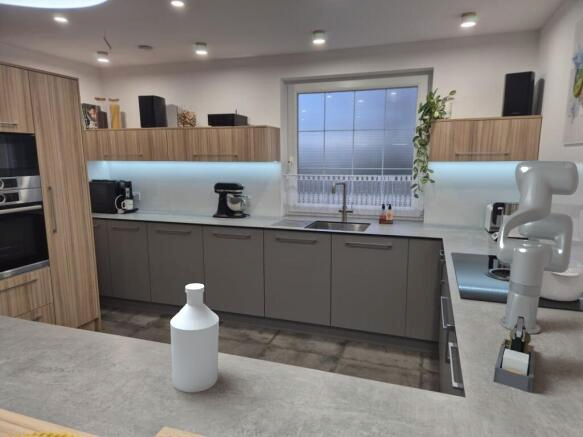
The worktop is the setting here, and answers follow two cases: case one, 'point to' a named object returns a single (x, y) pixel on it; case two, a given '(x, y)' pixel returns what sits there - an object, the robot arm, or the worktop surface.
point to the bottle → (194, 343)
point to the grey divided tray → (514, 377)
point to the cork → (527, 340)
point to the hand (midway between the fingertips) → (517, 346)
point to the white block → (515, 361)
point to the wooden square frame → (530, 347)
